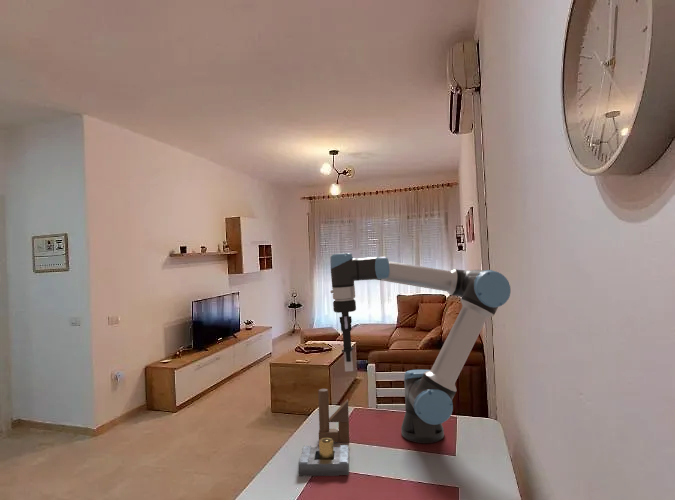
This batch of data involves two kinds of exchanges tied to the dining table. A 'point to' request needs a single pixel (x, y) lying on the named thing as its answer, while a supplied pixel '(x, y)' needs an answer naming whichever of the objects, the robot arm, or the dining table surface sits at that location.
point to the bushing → (326, 449)
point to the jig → (324, 462)
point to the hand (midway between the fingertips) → (349, 370)
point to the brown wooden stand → (332, 419)
